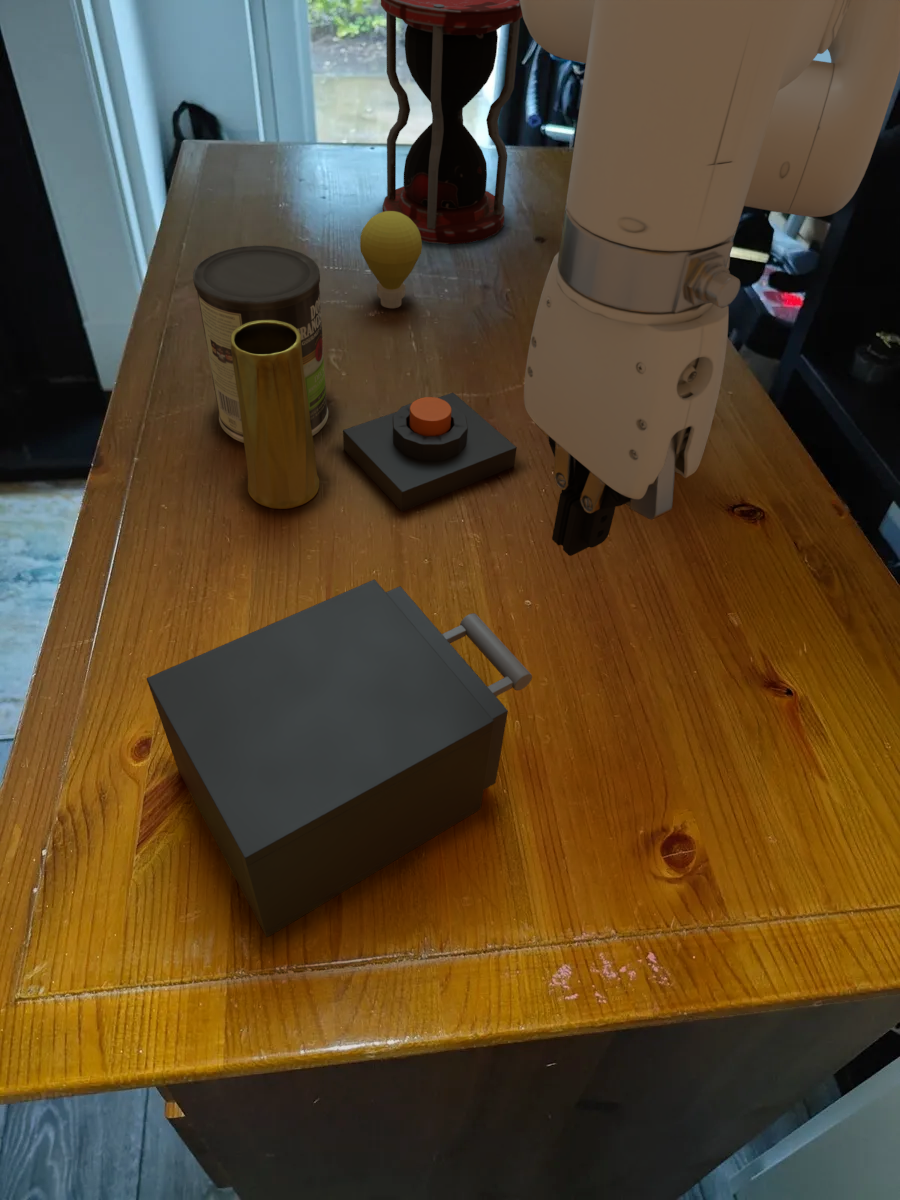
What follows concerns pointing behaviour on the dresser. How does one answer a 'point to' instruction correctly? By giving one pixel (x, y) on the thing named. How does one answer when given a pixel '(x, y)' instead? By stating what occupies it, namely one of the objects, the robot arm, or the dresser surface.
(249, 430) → the vase
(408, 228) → the light bulb
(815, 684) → the dresser surface
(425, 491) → the control block
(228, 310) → the coffee can
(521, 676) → the drawer
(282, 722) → the dark grey box
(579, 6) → the robot arm
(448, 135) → the hourglass
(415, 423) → the button
